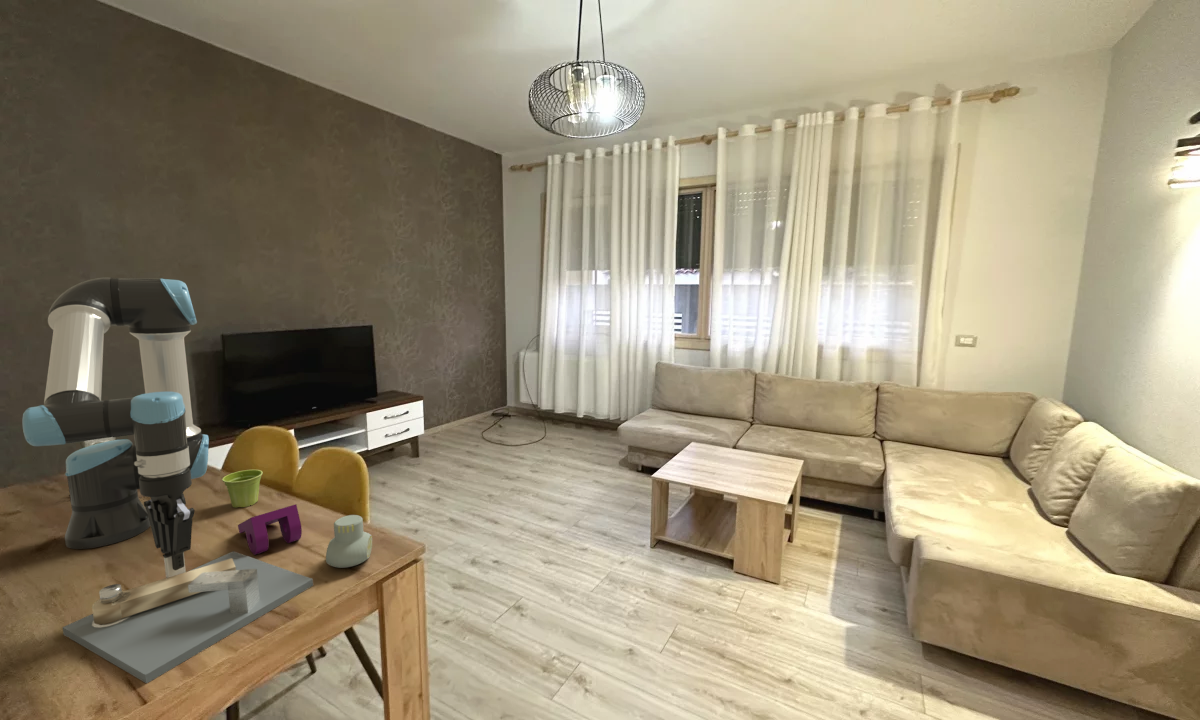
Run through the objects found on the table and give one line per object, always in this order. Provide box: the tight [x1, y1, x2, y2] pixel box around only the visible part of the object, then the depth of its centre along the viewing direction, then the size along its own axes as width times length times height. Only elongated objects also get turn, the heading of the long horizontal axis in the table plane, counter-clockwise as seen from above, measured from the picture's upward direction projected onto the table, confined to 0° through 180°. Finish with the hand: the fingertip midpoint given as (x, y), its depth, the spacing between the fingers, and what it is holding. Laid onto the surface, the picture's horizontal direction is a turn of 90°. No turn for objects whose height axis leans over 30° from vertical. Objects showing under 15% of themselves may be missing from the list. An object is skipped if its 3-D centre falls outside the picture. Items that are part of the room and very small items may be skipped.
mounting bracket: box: [237, 503, 303, 556], centre depth 119 cm, size 9×8×18 cm
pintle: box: [92, 583, 132, 628], centre depth 87 cm, size 6×6×6 cm
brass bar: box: [91, 558, 236, 624], centre depth 93 cm, size 20×5×3 cm, turn 135°
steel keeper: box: [188, 569, 260, 614], centre depth 90 cm, size 10×4×6 cm, turn 99°
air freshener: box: [325, 514, 373, 569], centre depth 109 cm, size 11×8×10 cm
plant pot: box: [221, 469, 263, 508], centre depth 138 cm, size 9×9×9 cm
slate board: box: [62, 550, 314, 684], centre depth 93 cm, size 27×28×2 cm
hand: (176, 582), depth 96 cm, fingers closed
